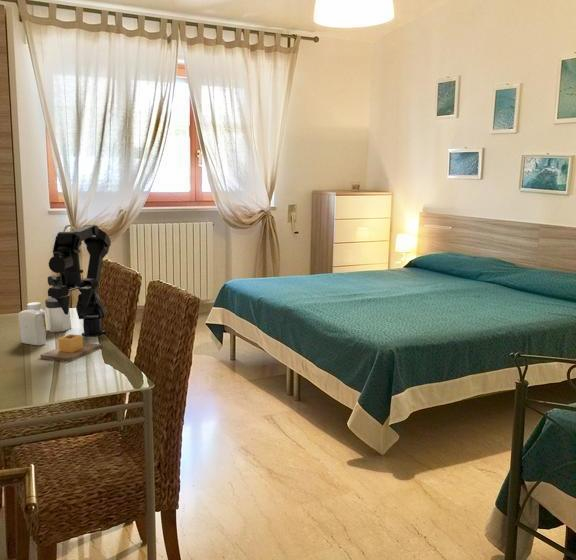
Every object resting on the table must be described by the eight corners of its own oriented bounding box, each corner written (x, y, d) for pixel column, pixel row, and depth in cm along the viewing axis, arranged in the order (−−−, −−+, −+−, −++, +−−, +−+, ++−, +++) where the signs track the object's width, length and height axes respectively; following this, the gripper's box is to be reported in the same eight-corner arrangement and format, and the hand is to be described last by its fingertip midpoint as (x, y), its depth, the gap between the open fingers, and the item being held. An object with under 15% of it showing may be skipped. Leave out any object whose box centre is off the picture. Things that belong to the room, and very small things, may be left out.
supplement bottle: (40, 339, 223) (36, 305, 220) (24, 339, 224) (20, 305, 222) (50, 334, 229) (47, 301, 227) (35, 334, 231) (31, 301, 228)
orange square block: (71, 346, 209) (69, 334, 209) (83, 347, 207) (82, 335, 206) (59, 350, 205) (58, 338, 204) (71, 352, 202) (70, 339, 202)
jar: (73, 325, 241) (70, 296, 239) (69, 331, 233) (66, 300, 231) (49, 327, 240) (46, 297, 238) (45, 332, 232) (41, 302, 230)
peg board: (75, 344, 216) (73, 327, 214) (101, 347, 211) (100, 330, 210) (40, 358, 201) (38, 340, 200) (68, 361, 196) (66, 343, 195)
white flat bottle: (19, 343, 219) (15, 310, 217) (29, 340, 223) (25, 307, 221) (38, 346, 214) (34, 312, 212) (48, 343, 218) (44, 310, 216)
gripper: (72, 262, 222) (77, 303, 225) (33, 271, 206) (38, 316, 209) (96, 263, 218) (100, 305, 221) (58, 272, 201) (63, 318, 204)
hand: (76, 311), depth 214 cm, fingers open, 9 cm apart
